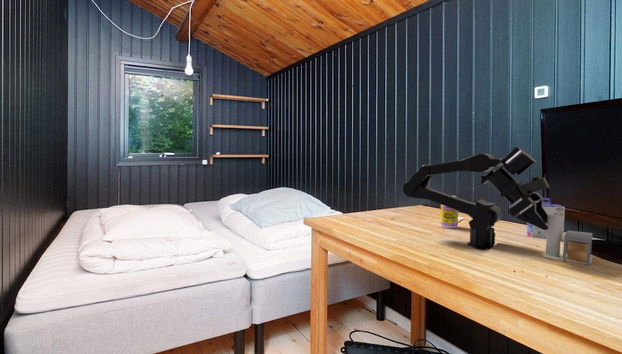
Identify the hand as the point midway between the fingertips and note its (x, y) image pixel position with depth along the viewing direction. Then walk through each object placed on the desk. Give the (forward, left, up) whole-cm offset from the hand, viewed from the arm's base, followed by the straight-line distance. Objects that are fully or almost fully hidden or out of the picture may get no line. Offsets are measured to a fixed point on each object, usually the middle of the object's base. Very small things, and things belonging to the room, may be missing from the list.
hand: (549, 226), depth 92 cm
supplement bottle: (-6, +41, -9) cm, 43 cm away
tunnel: (+4, -5, -9) cm, 11 cm away
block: (+4, -5, -8) cm, 10 cm away
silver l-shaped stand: (+3, -3, -9) cm, 10 cm away
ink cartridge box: (+17, +19, -9) cm, 27 cm away
